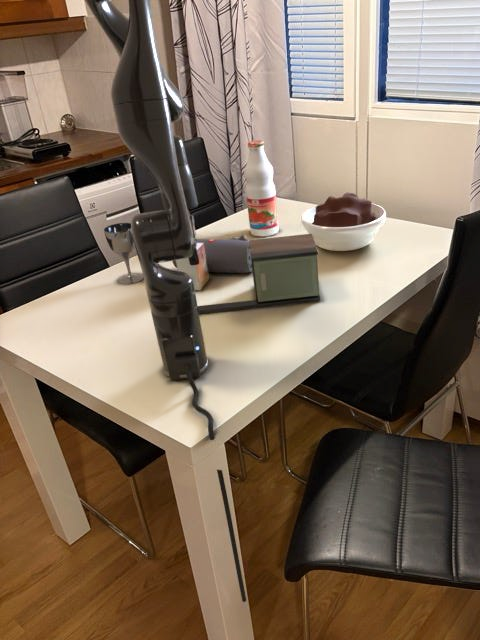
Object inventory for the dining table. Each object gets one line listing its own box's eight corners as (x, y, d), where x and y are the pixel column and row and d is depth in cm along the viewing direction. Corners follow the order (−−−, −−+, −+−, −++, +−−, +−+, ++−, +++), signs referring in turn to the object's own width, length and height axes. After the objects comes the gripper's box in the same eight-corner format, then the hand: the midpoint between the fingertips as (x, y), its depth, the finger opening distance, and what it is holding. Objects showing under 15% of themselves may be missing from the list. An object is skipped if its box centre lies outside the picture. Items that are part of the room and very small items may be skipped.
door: (318, 296, 146) (316, 255, 140) (258, 302, 146) (253, 262, 140) (317, 292, 148) (315, 252, 142) (257, 299, 148) (253, 259, 142)
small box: (200, 291, 158) (194, 253, 152) (181, 290, 159) (173, 253, 153) (210, 278, 164) (204, 242, 158) (191, 278, 165) (184, 242, 160)
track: (320, 301, 147) (318, 251, 140) (192, 315, 146) (183, 265, 139) (319, 296, 149) (316, 247, 142) (193, 310, 148) (184, 261, 141)
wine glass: (111, 282, 167) (97, 231, 159) (129, 271, 173) (117, 221, 165) (132, 286, 164) (120, 233, 156) (150, 275, 170) (139, 224, 162)
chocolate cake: (294, 260, 171) (290, 208, 163) (311, 230, 191) (309, 183, 183) (381, 261, 165) (381, 207, 157) (389, 230, 185) (390, 181, 177)
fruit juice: (284, 228, 195) (276, 138, 179) (270, 238, 188) (261, 145, 172) (259, 226, 199) (250, 138, 183) (245, 235, 192) (234, 145, 176)
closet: (319, 296, 149) (316, 247, 142) (256, 303, 149) (250, 254, 142) (314, 280, 158) (311, 233, 150) (254, 287, 157) (249, 240, 150)
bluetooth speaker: (256, 233, 165) (244, 246, 157) (260, 265, 170) (248, 279, 162) (183, 231, 171) (167, 244, 163) (188, 262, 176) (173, 275, 168)
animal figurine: (260, 239, 177) (250, 249, 175) (264, 250, 181) (254, 260, 179) (231, 229, 183) (221, 239, 181) (235, 240, 187) (225, 250, 185)
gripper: (162, 187, 136) (181, 260, 143) (157, 194, 124) (177, 274, 131) (195, 181, 136) (211, 254, 143) (192, 188, 124) (210, 268, 131)
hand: (195, 264), depth 137 cm, fingers closed
